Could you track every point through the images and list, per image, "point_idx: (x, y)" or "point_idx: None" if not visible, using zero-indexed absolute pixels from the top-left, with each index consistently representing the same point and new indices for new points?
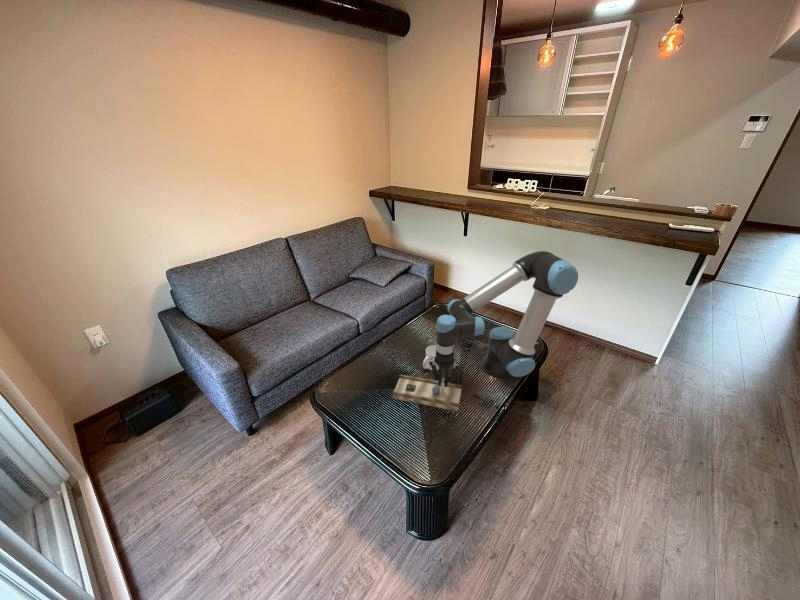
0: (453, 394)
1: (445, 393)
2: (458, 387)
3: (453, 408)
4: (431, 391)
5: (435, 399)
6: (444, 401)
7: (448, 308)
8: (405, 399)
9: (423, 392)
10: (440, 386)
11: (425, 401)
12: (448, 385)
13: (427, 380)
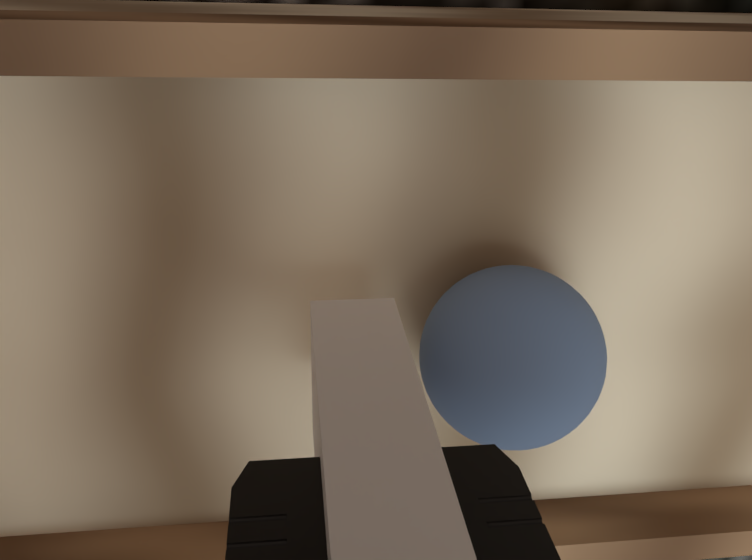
0: (108, 367)
1: (286, 347)
2: (48, 551)
3: (16, 1)
4: None
5: (500, 62)
6: (246, 49)
7: None
8: None
9: (745, 255)
10: None
11: (700, 21)
12: None
13: (695, 535)
